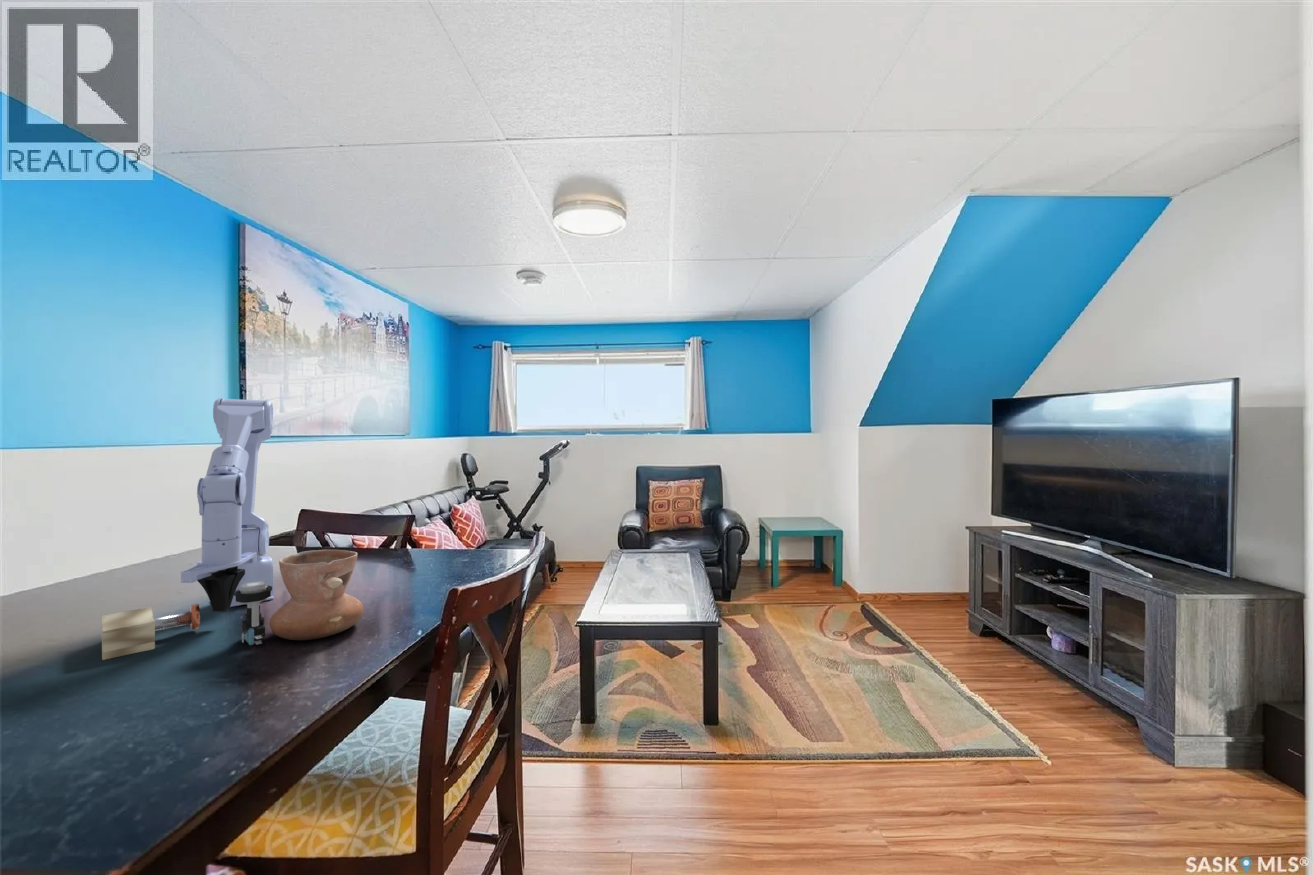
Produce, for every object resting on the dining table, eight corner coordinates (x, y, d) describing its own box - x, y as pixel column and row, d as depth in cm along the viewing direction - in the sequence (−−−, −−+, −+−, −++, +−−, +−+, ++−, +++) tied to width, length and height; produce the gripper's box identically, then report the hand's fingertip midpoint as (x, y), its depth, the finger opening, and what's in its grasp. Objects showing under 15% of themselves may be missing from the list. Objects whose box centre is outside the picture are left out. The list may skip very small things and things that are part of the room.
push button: (277, 642, 89) (278, 585, 89) (238, 652, 85) (239, 592, 85) (267, 632, 94) (268, 578, 94) (230, 641, 90) (230, 584, 89)
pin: (196, 624, 95) (196, 601, 95) (200, 631, 92) (200, 607, 92) (101, 643, 86) (101, 618, 86) (102, 651, 83) (102, 624, 83)
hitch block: (150, 632, 93) (150, 607, 93) (154, 648, 86) (154, 621, 86) (101, 642, 88) (101, 615, 88) (102, 660, 81) (102, 631, 81)
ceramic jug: (378, 632, 94) (380, 555, 95) (285, 657, 83) (286, 570, 83) (342, 611, 106) (343, 542, 106) (255, 630, 95) (257, 554, 95)
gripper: (232, 530, 103) (232, 597, 103) (163, 546, 89) (163, 624, 89) (267, 531, 103) (266, 597, 103) (204, 547, 89) (203, 624, 89)
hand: (221, 610), depth 96 cm, fingers closed
